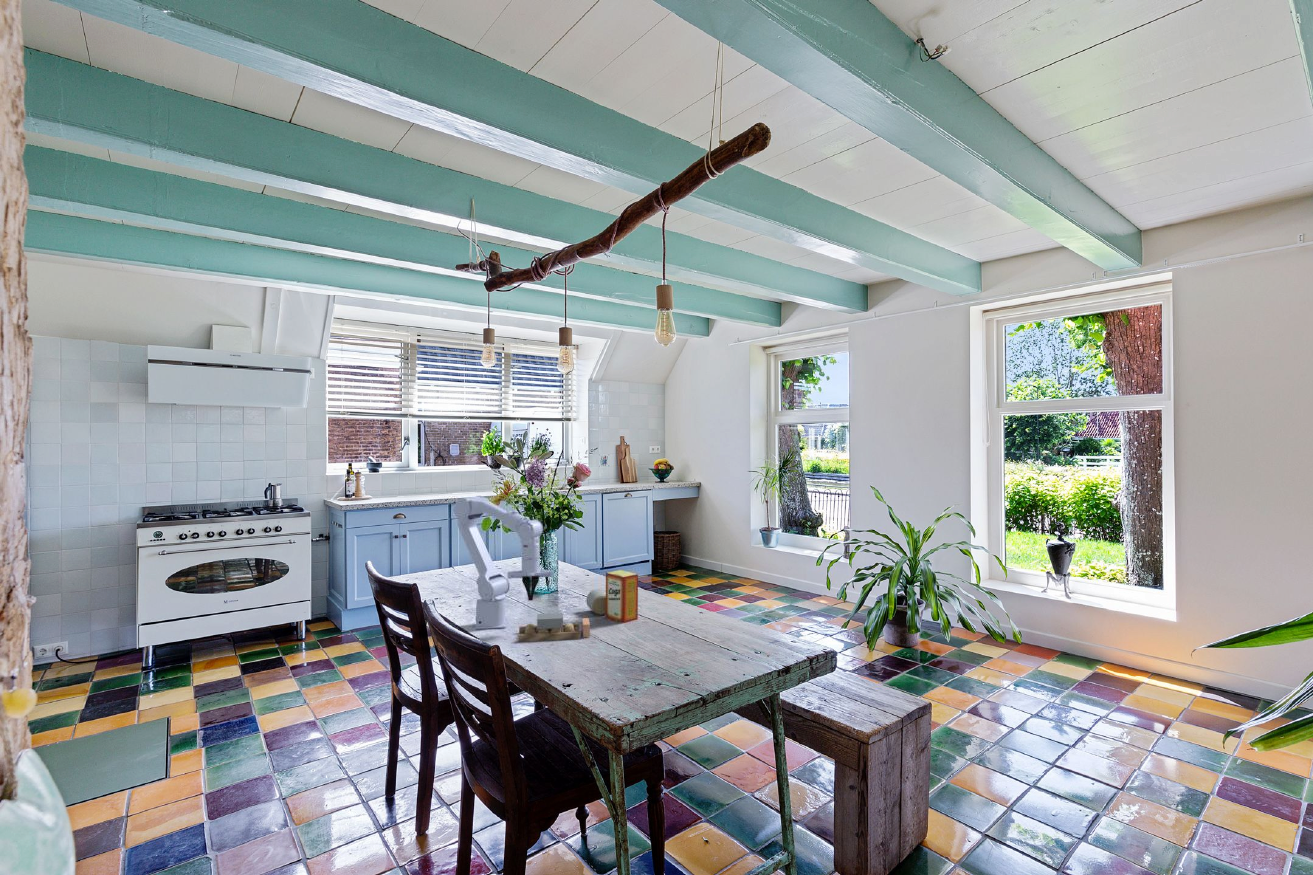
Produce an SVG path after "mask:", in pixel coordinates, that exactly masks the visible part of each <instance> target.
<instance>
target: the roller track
mask: <svg viewBox="0 0 1313 875" xmlns="http://www.w3.org/2000/svg"><path fill="white" fill-rule="evenodd" d="M566 624H567V623H563V628H549V629H537V625H535V624H533V623H528V624H526V625H521V626H518V630H519V631H518V635H517V639H518V640H517V642H518V643H525V642H541V641H542V642H544V641H546V642H547V641H562V640H577V639H578V640H581V631H579V629H580V624H579V623H572V624H573V625H574V630H575V632H565V625H566Z"/></svg>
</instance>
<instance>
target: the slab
mask: <svg viewBox="0 0 1313 875" xmlns="http://www.w3.org/2000/svg"><path fill="white" fill-rule="evenodd" d="M563 624H564V614H563V612H554V613H553V612H552V613H551V612H549V613H537V615H536V626H537V629H549V628H563Z"/></svg>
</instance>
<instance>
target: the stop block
mask: <svg viewBox="0 0 1313 875" xmlns="http://www.w3.org/2000/svg"><path fill="white" fill-rule="evenodd" d="M581 633H582V637H583V638H590V637H591V624H590V620H589V617H583V618H581Z"/></svg>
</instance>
